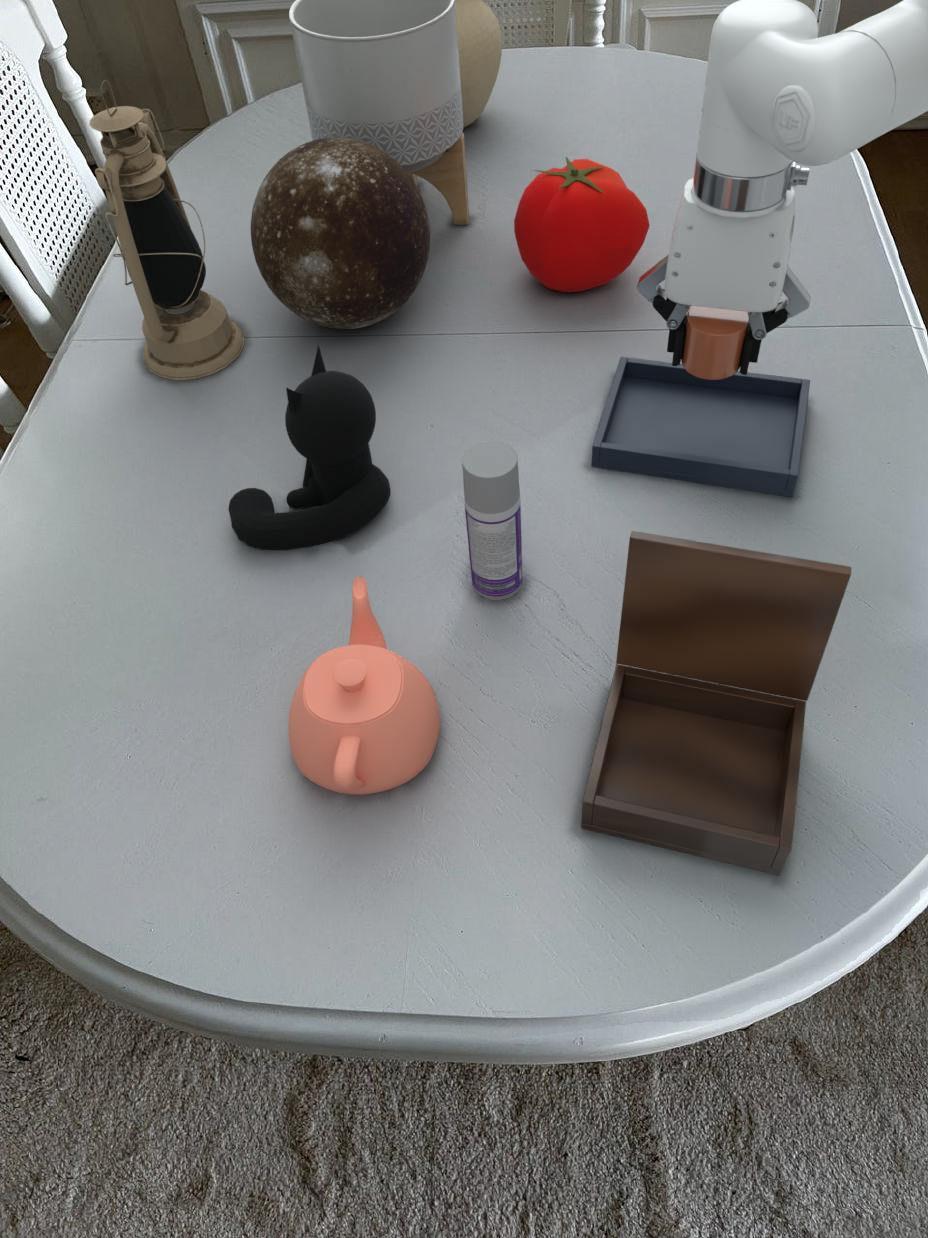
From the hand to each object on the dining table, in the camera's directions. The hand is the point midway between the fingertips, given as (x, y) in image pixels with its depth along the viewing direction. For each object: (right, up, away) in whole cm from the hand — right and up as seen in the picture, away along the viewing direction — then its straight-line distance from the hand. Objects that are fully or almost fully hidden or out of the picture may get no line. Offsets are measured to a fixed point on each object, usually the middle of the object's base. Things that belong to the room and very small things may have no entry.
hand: (711, 359), depth 93 cm
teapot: (-31, -34, -12) cm, 48 cm away
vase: (-26, +50, +54) cm, 78 cm away
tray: (+1, -6, +7) cm, 9 cm away
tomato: (-9, +17, +26) cm, 33 cm away
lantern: (-56, +7, +22) cm, 60 cm away
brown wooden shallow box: (-6, -37, -17) cm, 41 cm away
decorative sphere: (-37, +12, +25) cm, 46 cm away
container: (-21, -21, -3) cm, 30 cm away
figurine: (-38, -14, +4) cm, 41 cm away
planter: (-32, +28, +37) cm, 57 cm away
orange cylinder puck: (0, 0, 0) cm, 0 cm away
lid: (-5, -25, -23) cm, 34 cm away
